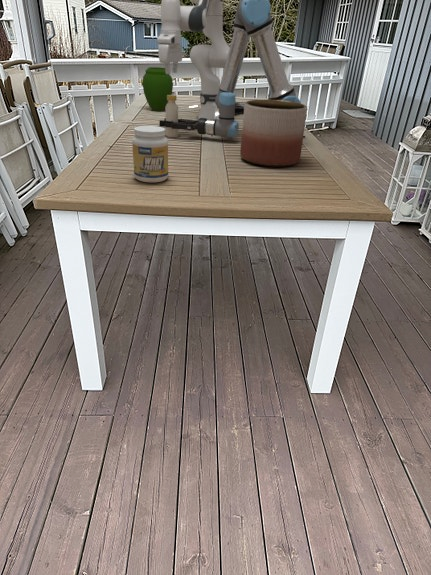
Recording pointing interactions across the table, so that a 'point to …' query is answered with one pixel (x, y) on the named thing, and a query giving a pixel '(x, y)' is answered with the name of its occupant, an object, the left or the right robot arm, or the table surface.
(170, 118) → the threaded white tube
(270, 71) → the right robot arm
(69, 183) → the table surface
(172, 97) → the cap
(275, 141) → the planter
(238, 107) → the sign
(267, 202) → the table surface
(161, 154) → the supplement tub
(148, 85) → the vase
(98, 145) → the table surface
